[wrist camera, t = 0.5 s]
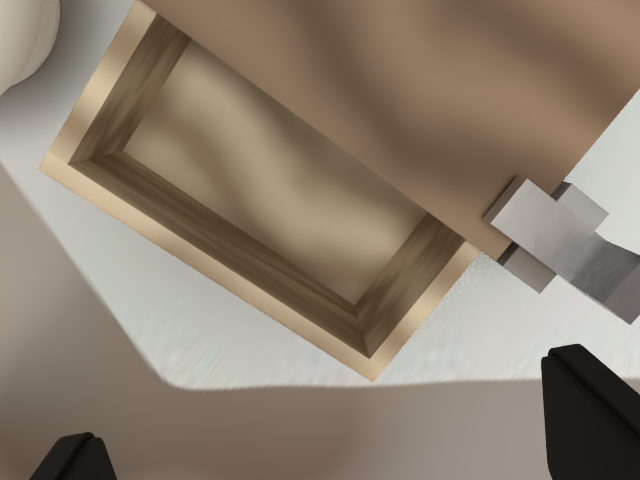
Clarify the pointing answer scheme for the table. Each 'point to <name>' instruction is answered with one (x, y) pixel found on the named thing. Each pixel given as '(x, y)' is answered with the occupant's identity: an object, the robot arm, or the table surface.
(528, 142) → the lid
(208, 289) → the table surface
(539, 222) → the brushed metal corner piece
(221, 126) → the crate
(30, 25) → the decorative vase
